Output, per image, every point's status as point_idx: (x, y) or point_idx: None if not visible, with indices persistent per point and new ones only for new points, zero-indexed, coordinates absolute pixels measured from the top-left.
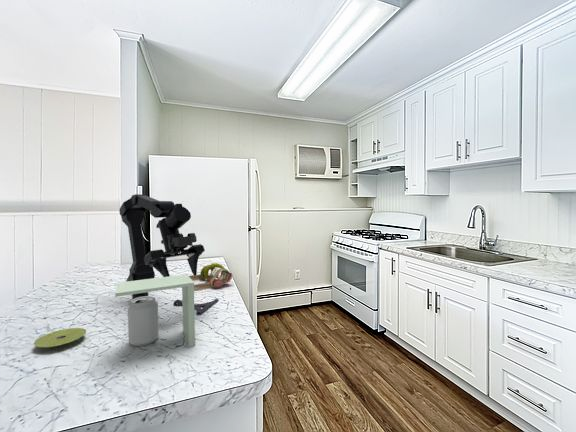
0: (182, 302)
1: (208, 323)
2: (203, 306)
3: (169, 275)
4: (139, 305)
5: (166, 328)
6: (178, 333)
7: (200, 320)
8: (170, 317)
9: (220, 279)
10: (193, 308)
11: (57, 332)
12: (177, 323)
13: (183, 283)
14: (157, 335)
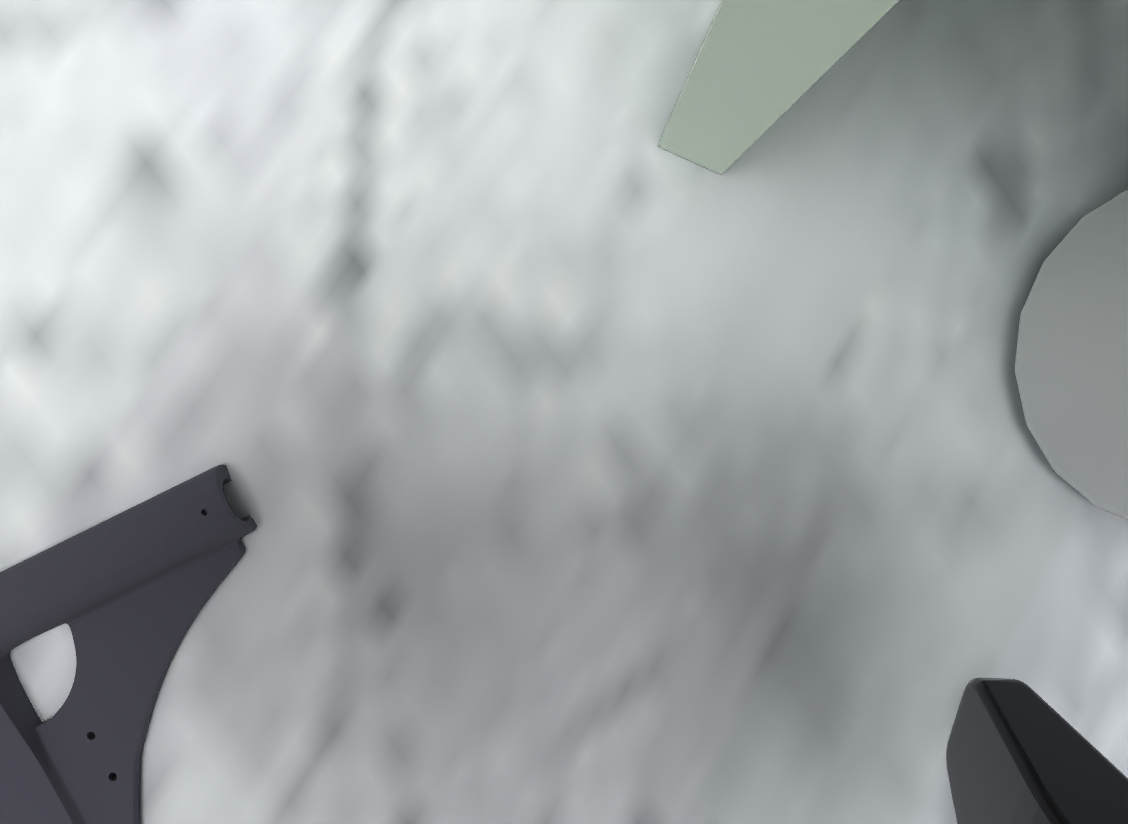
0: (813, 80)
1: (339, 105)
2: (8, 691)
3: (1068, 812)
4: None
5: (798, 457)
6: (790, 175)
7: (347, 296)
8: (554, 758)
9: None
10: None
11: None
12: (613, 482)
13: None
14: (1096, 212)
